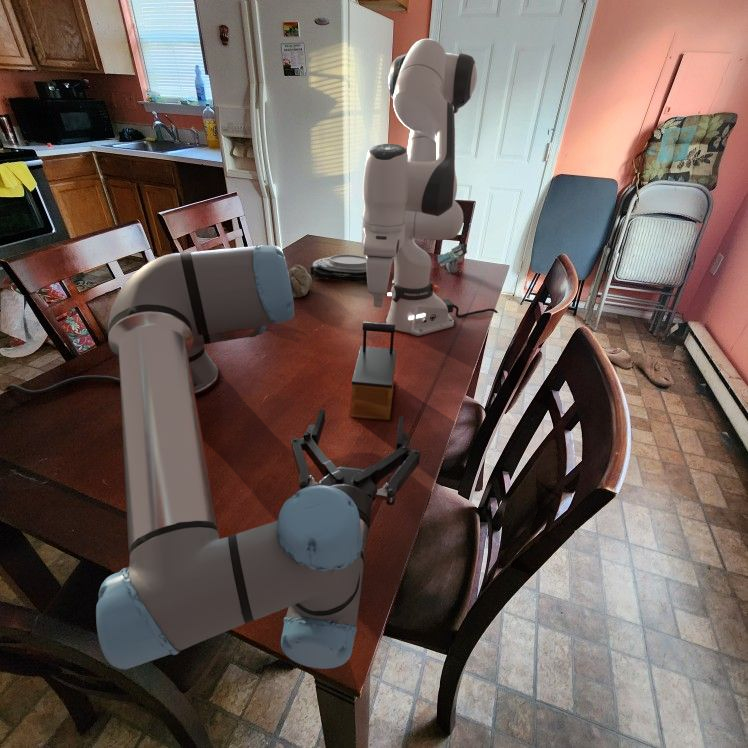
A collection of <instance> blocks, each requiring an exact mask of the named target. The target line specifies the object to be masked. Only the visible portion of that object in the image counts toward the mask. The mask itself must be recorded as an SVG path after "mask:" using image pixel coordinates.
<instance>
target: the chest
mask: <svg viewBox="0 0 748 748" xmlns="http://www.w3.org/2000/svg"><path fill="white" fill-rule="evenodd" d="M396 359H397V358H396ZM396 359H395V362H396ZM395 373H396V366H395V367H394V376H393V385H392V388H384V387H373V386H362V385H352V384H351V398H350V399H351V402H350V403H351V409H350V410H351V411H350V413H351V414H350V415H351V416H350V417H351V418H360V419H372V420H382V421H390V420H391V412H392V402H393V395H394V385H395V375H396V374H395Z"/></svg>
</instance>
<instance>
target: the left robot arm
mask: <svg viewBox="0 0 748 748" xmlns="http://www.w3.org/2000/svg"><path fill="white" fill-rule="evenodd" d="M294 317H295V303H294V297H293V295H292V289H291V283H290V278H289V273H288V263H287V260H286V256H285V253H284V251H283V249H282V248H281V247H279V246H278V245H273V244H272V245H269V244H268V245H267V244H265V245H264V244H257V245H251V246H243V247H241V246H240V247H230V248H221V249H211V250H210V249H209V250H202V251H190V252H175V253H169V254H165V255H162V256H159V257H157V258H155V259H153V260H150V261H148V262H147V263H146V264H144V265H143V266H142V267H140V268H139V269H138V270H136V271H135V272H134V273H133V274H132V275H131V277H130V278H128V280H127V281H126V282H125V283H124V284H123V286H122V288H121V289H119V291H118V293H117V296H116V298H115V300H114V302H113V304H112V306H111V309H110V312H109V317H108V320H107V321H108V322H107V338H108V339H107V341H108V346H109V348H110V351H111V352H112V353H113V354H114V355H115V356H116V357H117V358H118V365H119V378H117V377H114V376H109V375H82V376H81V375H80V376H76V377H71V378H68V379H65V380H63V381H60V382H58V383H56V384H53V385H51V386H49V387H46V388H43V389H38V390H30V389H26V388H24V387H21V386H19V385H17V384H14V383H12V384H9V385H7V386H6V387H5V388H4V391H10V390H12V389H14V388H16V389H15V390H16V391H18V392H20V393H23V394H26V395H31V396H35V395H36V396H37V395H42V394H46V393H50V392H51V391H54V390H56V389H58V388H61V387H63V386H65V385H68V384H70V383H74V382H80V381H86V380H101V381H102V380H103V381H111V382H116V383H119V387H120V406H121V424H122V425H121V426H122V427H121V429H122V447H123V463H124V465H123V466H124V485H125V486H124V487H125V488H124V489H125V503H126V504H125V505H126V508H125V509H126V524H127V525H126V527H127V547H128V551H129V563H128V564H129V565H128V567H122V569H121V570H119V571H118V572H115V573H113V574H111V575H109V576H107V577H106V578H105V579H104V581H103V582H102V583H101V585H100V587H99V591H98V601H97V603H96V608H95V617H96V618H95V620H96V631H97V637H98V642H99V646H100V649H101V651H102V654H103V656H104V658H105V660H106V661H107V662H108V664H109V665H110V666H112V667H115V669H116V668H117V670H122V671H125V670H128V669H131V668H135V667H138V666H140V665H143V664H146V663H149V662H152V661H154V660H155V661H156V660H158V659H160V658H164V657H167V656H170V655H172V656H176V655H178V654H179V653H181V651H183V650H185V649H188V648H190V647H192V646H194V645H196V644H199V643H201V642H205V641H206V640H209V639H211V638H214V637H216V636H219V635H221V634H224V633H226V632H228V631H231V630H234V629H237V628H239V627H241V626H243V625H245V624H248V623H250V622H254V621H257V620H260V619H262V618H264V617H267V616H270V615H272V614H275V613H277V612H280V611H282V610H285V609H287V612H286V615H285V616H284V618H283V628H282V633H281V637H280V647H281V650H282V652H283V654H284V655H285V656H286V657H287V658H288V659H289V660H291V661H293V662H295V663H296V664H298V665H300V666H305V667H308V668H311V669H312V668H313V669H321V670H322V669H323V670H327V669H335V668H338V667H341V666H344V665H345V664H346V663H347V662H348V661H349V660H350V658H351V656H352V653H353V648H354V643H355V638H356V633H357V632H358V627H357V624H358V618H359V617H358V616H359V609H360V600H361V593H362V583H363V573H364V567H365V562H366V561H365V560H366V554H367V549H368V548H367V547H368V540H369V528H370V525H371V517H372V510H373V504H374V502H375V500H376V499H377V500H380V501H381V500H382V501H385V503H386V505H387V506H390V507H392V506H394V505H395V503H396V499H397V494H398V493H399V492H400V491H401V489H402V488H403V486H404V485H405V484H406V482H407V481H408V479H409V478H410V477H411V476H412V474H413V473H414V471H415V470H416V469H417V467H418V466H419V464H420V459H421V458H420V457H421V451H420V450H419V449H416V448H414V449H411V447H410V434H409V433H403V432H404V420H405V419H404V416H399V417H398V425H397V438H396V447H395V448H396V450H394V451H392V452H391V453H390V454H388V455H387V456H385V457H384V458H383V459H381V460H380V461H378V462H377V463H375V464H371V465H369V466H367V467H366V468H365V469H363V468H362V467H357V466H356V467H350V466H347V465H340V466H339V467H337V466H336V465H335V464H334V462H333V461H332V460H330V459H329V458H328V457H327V456H326V454H325V453H324V451H322V449H321V448H320V447H319V443H320V439H321V436H322V433H323V429H324V427H325V423H326V411H325V409H323V408H320V409H319V412H318V415H317V418H316V420H315V424H309V425H308V427H307V430H306V432H304V433H303V434H302V437H301V438H299V437H292V438H291V439H290V440H291V441H290V442H291V449H292V450H291V453H292V455H293V459H294V462H295V466H296V469H297V472H298V476H299V479H298V486H299V490H298V491H296V492H295V493H294V494H293V495H292V496H290V498H288V499H286V500H285V502H284V503H283V504H282V506H281V507H280V511H279V512H278V513H279V514H278V517H277V518H278V519H277V520H274V521H272V522H269V523H265V524H263V525H260V526H257V527H254V528H250V529H247V530H245V531H241V532H238V533H234V534H231V535H229V536H226V537H222V538H220V535H219V531H218V528H219V525H218V520H217V519H218V518H217V515H216V508H215V503H214V495H213V492H212V486H211V485H212V484H211V479H210V474H209V468H208V462H207V456H206V450H205V445H204V439H203V433H202V428H201V421H200V417H199V411H198V405H197V398H196V397H197V396H200V395H202V394H204V393H207V392H208V391H210V390H211V389H213V387H215V386H216V384H217V383H218V381H219V378H220V375H219V370H218V367H217V365H216V364H215V363H214V362H213V360H212V358H211V357H210V355H209V354H208V352H207V351H206V347H205V345H208V344H209V345H210V344H214V343H221V342H226V341H233V340H239V339H244V338H255V337H257V336H260V335H263V334H264V333H265V331H266V329H267V326H268V325H281V324H283V323H285V322H290V321H292V320H293V319H294ZM304 452H305V453H306V454H307V456H308V457H309V458H310V460H311V461H312V463H313V464H314V465H315V467H316V468H317V469H318V471H319V472H320V473H321V474H322V478H321V479H320V480H319V481H318V482H317V481H316V480H315V478H314V477H313V475H311V474H310V472H309V471H310V469H309V466H308V463H307V460H306V457H305V454H304ZM395 470H396V471H395ZM394 471H395V473H394V474H393V475H392V476H391V478H390V479H389V481H388V482H385V484H384V485H382V487H380V488H378V486H377V485H378V484H379V482H380V481H382V480H383V479H384V478H385V477H387V476H388V475H389V474H391V473H393V472H394Z"/></svg>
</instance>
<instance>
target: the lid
mask: <svg viewBox="0 0 748 748" xmlns="http://www.w3.org/2000/svg"><path fill="white" fill-rule="evenodd" d="M361 329H362V331H363V335H362V345H361V346H360V347H359V348H360V349H359V350H358V356H357V360H356V363H355V366H354V367H355V368H354V370H353V375H352V379H351V386H352V385H362V386H373V387H384V388H392V385H393V376H394V377H395V374H394V367H395V368H396V361H395V359H397V348H394V340H395V339H394V338H395V337H394V336H395V333H396V330H395V324H387V323H386V322H385V323H384V322H374V321H373V322H371V321H363V322H362V327H361ZM367 332H373V333H374V332H375V333H388V334H390V344H389V348H386V347H378V346H377V347H376V346H367ZM393 386H394V385H393Z"/></svg>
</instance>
